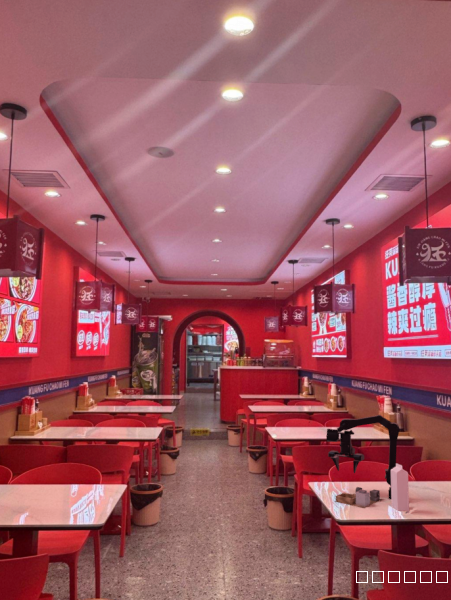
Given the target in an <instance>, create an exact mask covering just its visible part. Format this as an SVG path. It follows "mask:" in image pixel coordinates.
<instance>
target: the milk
mask: <svg viewBox="0 0 451 600" xmlns="http://www.w3.org/2000/svg"><path fill="white" fill-rule="evenodd" d="M390 487H391V499H390V500H391V501H390V502H391V508H392V509H394V510H395V511H397V512H402V511H403V512H404V514H409V513H410V494H409V493H410V491H409V472H408V471H407V470H405V469H403V465H402V464H399V463H397V462H396V467H394V468H393V469H391V486H390Z"/></svg>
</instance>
